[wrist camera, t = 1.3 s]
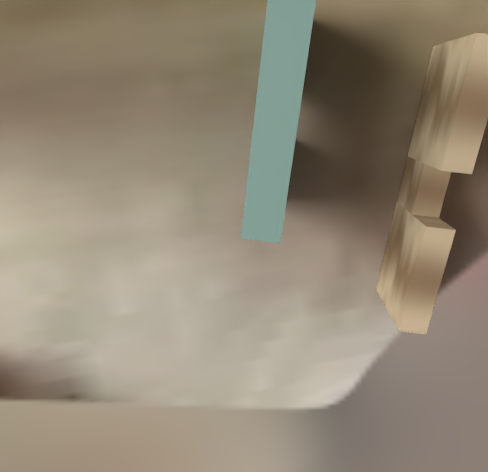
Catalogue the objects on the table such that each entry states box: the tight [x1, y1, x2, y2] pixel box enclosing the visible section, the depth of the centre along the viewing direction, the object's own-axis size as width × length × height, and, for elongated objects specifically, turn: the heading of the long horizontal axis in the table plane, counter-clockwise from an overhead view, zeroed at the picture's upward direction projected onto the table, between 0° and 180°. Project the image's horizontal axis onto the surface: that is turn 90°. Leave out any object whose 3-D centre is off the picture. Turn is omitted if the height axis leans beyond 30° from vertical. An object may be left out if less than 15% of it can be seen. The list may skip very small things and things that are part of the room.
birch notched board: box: [376, 33, 488, 334], centre depth 31 cm, size 20×2×7 cm, turn 174°
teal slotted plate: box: [241, 0, 316, 243], centre depth 28 cm, size 2×14×11 cm, turn 174°
